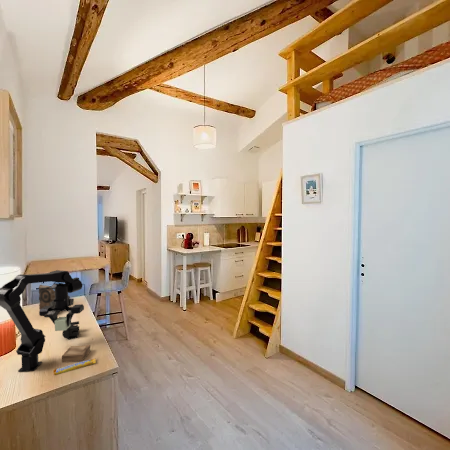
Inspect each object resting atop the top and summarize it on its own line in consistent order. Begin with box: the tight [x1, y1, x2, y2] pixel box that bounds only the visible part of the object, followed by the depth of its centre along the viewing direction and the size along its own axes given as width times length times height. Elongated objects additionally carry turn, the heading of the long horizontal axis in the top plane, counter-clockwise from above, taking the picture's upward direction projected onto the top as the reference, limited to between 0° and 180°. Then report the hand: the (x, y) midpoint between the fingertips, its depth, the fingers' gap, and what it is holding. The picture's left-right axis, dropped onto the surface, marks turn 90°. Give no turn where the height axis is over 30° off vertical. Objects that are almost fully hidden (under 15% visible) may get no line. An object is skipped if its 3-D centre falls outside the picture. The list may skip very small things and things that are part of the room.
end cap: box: [61, 320, 80, 340], centre depth 149 cm, size 10×7×7 cm
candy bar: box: [52, 357, 97, 376], centre depth 118 cm, size 17×4×2 cm, turn 122°
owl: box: [38, 284, 61, 318], centre depth 179 cm, size 13×13×20 cm
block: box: [54, 316, 70, 332], centre depth 134 cm, size 5×5×5 cm
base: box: [61, 344, 91, 363], centre depth 128 cm, size 9×9×3 cm
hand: (62, 326), depth 134 cm, fingers closed on block, 5 cm apart
